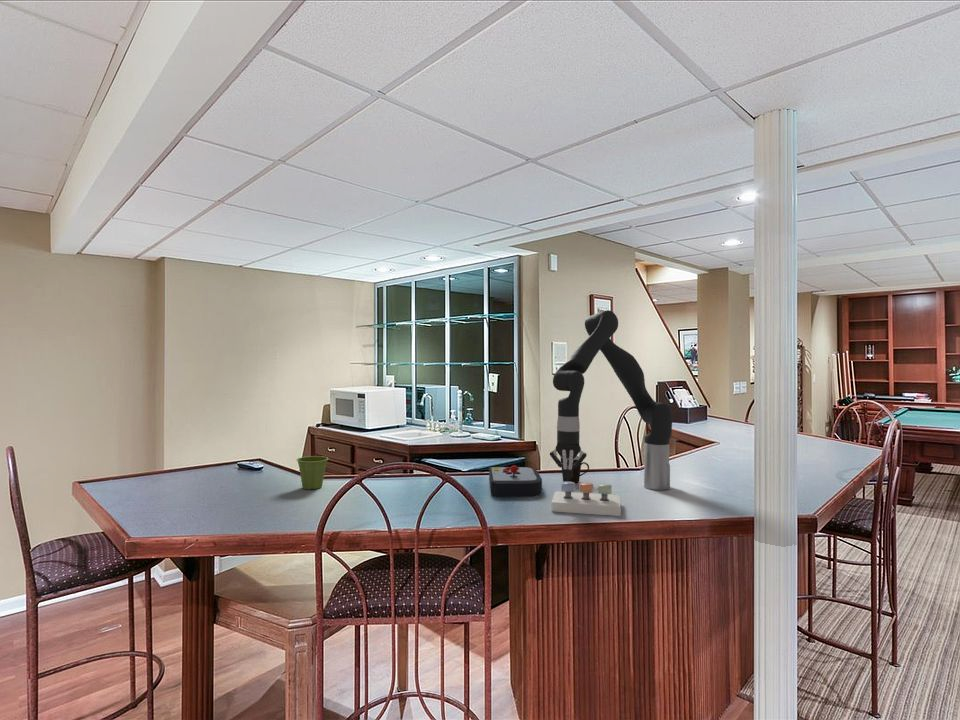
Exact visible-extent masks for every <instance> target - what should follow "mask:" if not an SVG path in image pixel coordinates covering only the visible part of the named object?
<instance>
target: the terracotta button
mask: <svg viewBox="0 0 960 720" xmlns="http://www.w3.org/2000/svg"><path fill="white" fill-rule="evenodd" d="M578 484H579V485H578V487H579V490H578V491H579V493H583V500H589V494H593V492H594V484H593V482H592V483H591V482H579V483H578Z"/></svg>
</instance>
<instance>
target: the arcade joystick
mask: <svg viewBox="0 0 960 720" xmlns="http://www.w3.org/2000/svg"><path fill="white" fill-rule="evenodd" d="M488 473H489V474H488V476H489V477H488V482H489V488H490V489H489V491H490V496H491V497H494V498H525V497H526V498H533V497H538V496H540V495H541V494H543V478H542V476H541V475H540V473H539V471H538V470H536V469H535V468H532V467H525V466H524V467H523V466H521V467H520V466H517V465H515V464H514V465H512V466H511V467H509V466H505V467H504V466H501V467H500V466H497V467H496V466H493V467H491V466H490V467H488Z"/></svg>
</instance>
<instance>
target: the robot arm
mask: <svg viewBox="0 0 960 720" xmlns="http://www.w3.org/2000/svg"><path fill="white" fill-rule="evenodd" d="M618 326H619V320H618V316H617V314H615V312H614V311H612V310H602V311H599V312H597V313H595V314H592V315H590V316H587V317H586V319H585V320H584V328H585V331H586V332H587V335H588V337H587V338H586V339H585V340H583V342H582V343H581V344H579V346H577V347H576V349H575V350H574V352H573V353H572V355H571V356H570V357H569V359H568V360H567V361H566V362H565V363H564V364H563V365H561V366H560V367H559V368H557V370H556V371H555V373H554V375H553V378H552V385H553V388H555V389H556V390H557V391H561V392H569V394H568V396H567V397H563V398H560V399H558V403H557V421H556V422H557V423H556V446H555V449H553V450H552V451H550V452H549V456H550V457H551V458H552V460H553V462H555V464H556V465H557V467H558V468H561V469H562V468H563V469H564V479H566V480H568V481H570V479H572V470H573V469H574V468H577V467H578V466H579V465H580V464H581V463H582V462H584V460H585V459H586V457H587V455H588V454H587V452H584V451H583V449H582V448H581V445H580V431H581V430H580V428H581V427H580V423H581V422H580V416H579V415H580V402H581V397H582V394H583V390H584V387H585V377H584V375H583V374H586V372H587V370H588V369H589V367H590V366H591V364H592V363H593V360H594V359H595V357H596V356H597V355H598V353H599V351H600V352H601V353H602V354H603V356H604V357H605V359H606V360H607V362H608V363H609V365H610V366H611V368H612V369H613V371H614V373H615V375H616V376H617V378H618V380H619V381H620V383H621V384H622V386H623V387H624V389H625V391H626V392H627V393H628V395H629V397H630V398H631V400H632V402H633V405H634V406H635V408H636V410H637V412H638V414H639V417H640V418H641V420H642V421H643V422H644V424H645V423H646V424H647V425H650V427H651V428H650V432H649V433H648V434H645V435H644V439H643V440H644V441H643V442H644V443H643V449H644V450H643V453H644V455H643V457H644V458H643V463H644V466H643V468H644V471H643V472H644V473H643V477H644V478H643V484H644V485H643V486H644V487H645V489H650V490H655V491H664V490H670V489H671V463H670V440H671V437H672V433H673V432H672V431H673V411H672V408H671V407H670V405H669V404H667V403H665V402H661V401H655V400H654V399H653V398H652V396H651V395H650V393H649V392H648V390H647V387H646V381H645V380H646V379H645V373H644V371H643V369H642V367H641V365H640V364H639V362H638V361H637V359H636V358H635V356H633V354H631V353H630V352H628V351H627V350H625V349H623V348H622V347H620V346H619V345H617V344H616V343H615V342H613V340H612V339H611V338H612V336H613V335H614V334H615V333H616V331H617V330H618V328H619V327H618ZM578 454H579V455H578ZM558 455H559V457H561V458H563V463H561V458H559V457H558ZM576 456H579V457H580V458H579V459H578V460H577V462H576V463H575V464H573V459H574V458H575V457H576ZM567 459H569V469H568V466H567ZM644 487H643V488H644Z"/></svg>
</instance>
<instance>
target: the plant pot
mask: <svg viewBox="0 0 960 720" xmlns="http://www.w3.org/2000/svg"><path fill="white" fill-rule="evenodd" d="M328 461H329V457H328V456H322V455H311V456H309V455H308V456H301V457H297V458H296V462H297V463H298V468H299V472H300V473H299V474H300V479H301V488H302V489H304V490H312V489H313V490H318V489H321V488H322V487H323V483H324V478H325V471H326V468H327V467H326V466H327V463H328Z"/></svg>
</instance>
